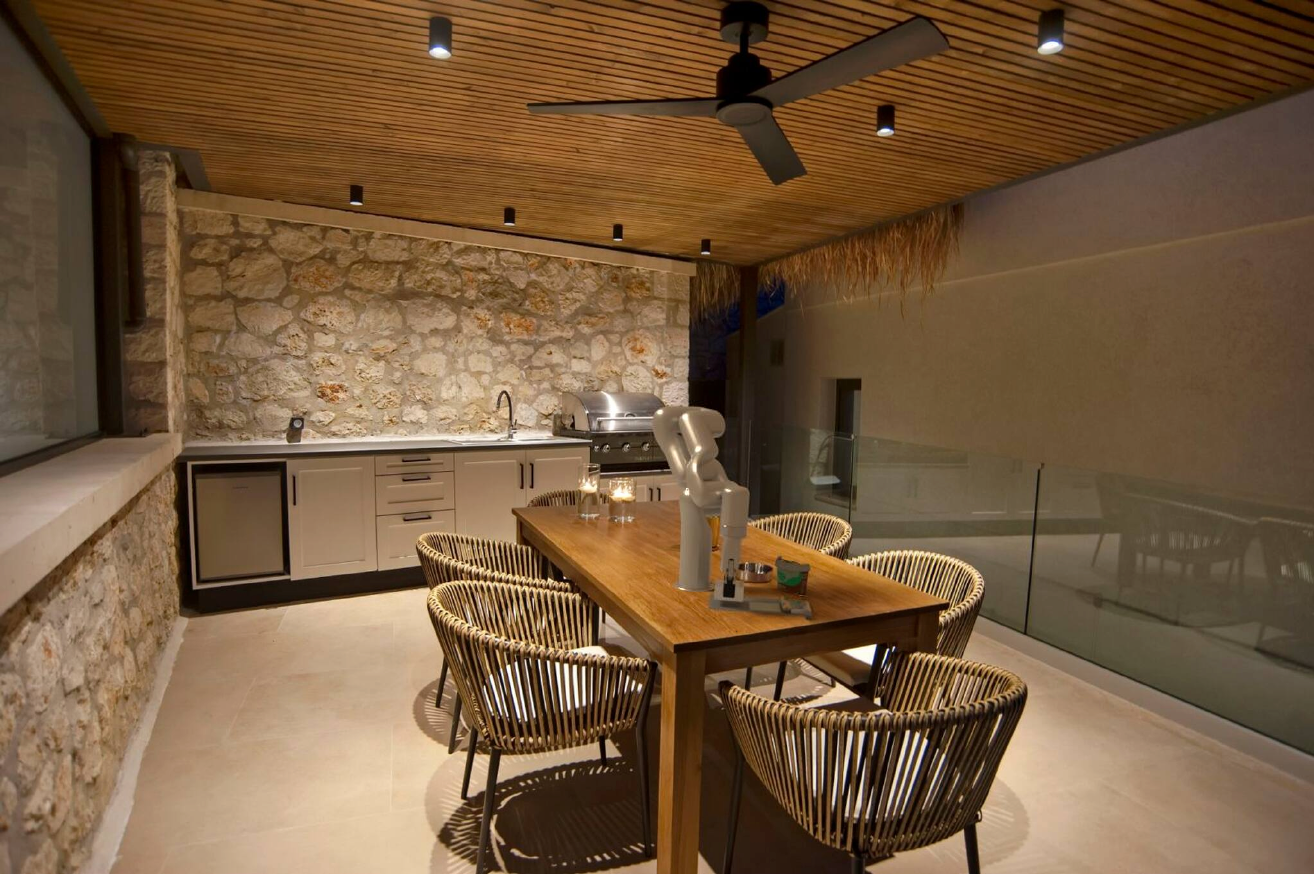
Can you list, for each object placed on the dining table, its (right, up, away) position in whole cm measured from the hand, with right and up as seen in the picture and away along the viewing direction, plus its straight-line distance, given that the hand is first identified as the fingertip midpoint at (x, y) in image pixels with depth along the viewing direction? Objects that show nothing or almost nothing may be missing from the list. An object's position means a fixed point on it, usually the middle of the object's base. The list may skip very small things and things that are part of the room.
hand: (728, 592), depth 198 cm
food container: (+19, -4, +16) cm, 26 cm away
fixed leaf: (+18, -4, -3) cm, 19 cm away
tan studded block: (0, -1, 0) cm, 1 cm away
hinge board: (+9, -4, 0) cm, 10 cm away
